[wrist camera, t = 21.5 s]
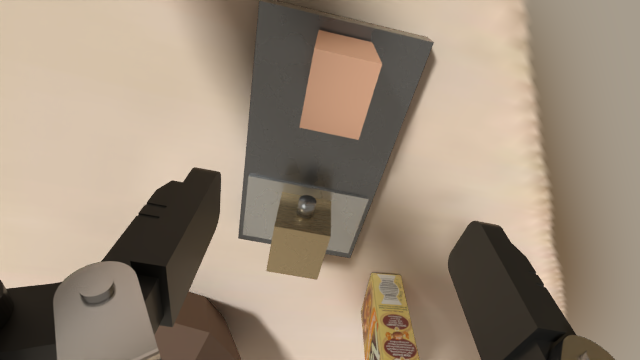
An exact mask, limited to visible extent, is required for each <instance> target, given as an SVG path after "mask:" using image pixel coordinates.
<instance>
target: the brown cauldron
mask: <svg viewBox="0 0 640 360" xmlns="http://www.w3.org/2000/svg"><path fill="white" fill-rule="evenodd" d="M154 337H155V340H156V343H157V347H158V350H159V354H160V357H161V359H162V360H241V358H240V355H239V353H238V351H237V348H236V346H235V343H234V341H233V338H232V336H231V333H230V331H229V329H228V326H227V324H226V321H225V319H224V317H223V316H222V315H221V314H220V313H219V312H218V310H217V309H216V308H215V307H214V306H213V305H212V304H211V303H210V301H209V300H208V299H207V298H206V297H204V296H201V295H198V294H194V293H191V292H188V293H187V296H186V298H185V300H184V303H183V305H182V307H181V309H180V312H179V314H178V316H177V319H176V321H175V323H174V325H173V327H167V326H160V325H159V327H158V329H157V331H156V333H155V335H154Z"/></svg>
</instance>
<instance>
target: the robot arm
mask: <svg viewBox="0 0 640 360" xmlns="http://www.w3.org/2000/svg"><path fill="white" fill-rule="evenodd" d="M220 192H221V174H220V172H217V171H212V170H206V169H201V168H196V167H194V168H193V169H192V170H191V171H190V173H189V174H188V176H187V177H186V179H185V180H184V182H177V181H171V182H169V183H167V184H166V185H164V186H162V187H161V188H159V189H157V190H156V191H155V193H154V194H153V195H152V196H151V198H150V199H149V200H148V202H147V205H145V206H144V207H143V208H142V209H141V211H140V212H139V215H138V216H136V217H135V219H134V220H133V221H132V222H131V224H130V225H129V226H128V228H127V229H126V230H125V232H124V233H123V234H122V235H121V237H120V238H119V239H118V241H117V242H116V243H115V245H114V246H113V247H112V248H111V250H110V251H109V252H108V254H107V255H106V256H105V258H104V259H103V260H102V261H101V262H98V263H93V264H90V265H87V266H85V267H83V268H81V269H79V270H77V271H75V272H74V273H72V274H71V275H69V276H68V277H67V278H66V279H65V280H64V281H63V282H60V283H53V284H45V285H36V286H27V287H18V288H9V289H6V288H5V286H4V285H3V283H2V282H1V280H0V360H162V359H161V357H160V354H159V350H158V347H157V343H156V340H155V337H154V335H155V333H156V331H157V329H158V327H159V325H160V326H167V327H173V325H174V323H175V321H176V319H177V316H178V314H179V312H180V309H181V307H182V305H183V303H184V300H185V298H186V296H187V293H188V291H189V289H190V287H191V284H192V282H193V280H194V278H195V275H196V273H197V271H198V268H199V266H200V264H201V262H202V259H203V257H204V255H205V253H206V250H207V248H208V246H209V243H210V241H211V239H212V237H213V234H214V232H215V230H216V227H217V224H218V219H219V214H220ZM448 268H449V272H450V275H451V278H452V281H453V283H454V286H455V289H456V292H457V294H458V297H459V300H460V303H461V305H462V308H463V311H464V313H465V316H466V319H467V322H468V324H469V327H470V330H471V333H472V335H473V338H474V341H475V344H476V346H477V349H478V352H479V355H480V357H481V360H615V359H614V358H613V356H611V355H610V354H609V353H608V352H607V351H606V350H604V349H603V348H602V347H601V346H599V345H598V344H596V343H595V342H593V341H591V340H589V339H587V338H585V337H582V336H578V335H576V334H575V332H574V331H573V329H572V328H571V326H570V324H569V323H568V321H567V320H566V318H565V317H564V315H563V313H562V312H561V310H560V309H559V307H558V306H557V304H556V303H555V301H554V299H553V298H552V296H551V295H550V293H549V292H548V290H547V289H546V288H545V287H544V284H543V282H542V281H541V279H540V278H539V276H538V275H536V271H535V270H534V268H533V267H532V265H531V264H530V262H529V260H528V259H527V257H526V256H524V255H523V254H522V253H521V252H520V251H519V250H518V249H517V248H516V247H515V246H514V245H513V244H512V243H511V242H510V240H509V239H508V237H507V235H506V234H505V232H504V231H503V229H502V228H501V227H500V226H499V225H495V224H489V223H484V222H479V221H473V222H471V223H470V224H469V225H468V226H467V228H466V230H465V231H464V233H463V234H462V236H461V237H460V239H459V240H458V242H457V243H456V245H455V247H454V248H453V250H452V251H451V253H450V255H449V260H448Z"/></svg>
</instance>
